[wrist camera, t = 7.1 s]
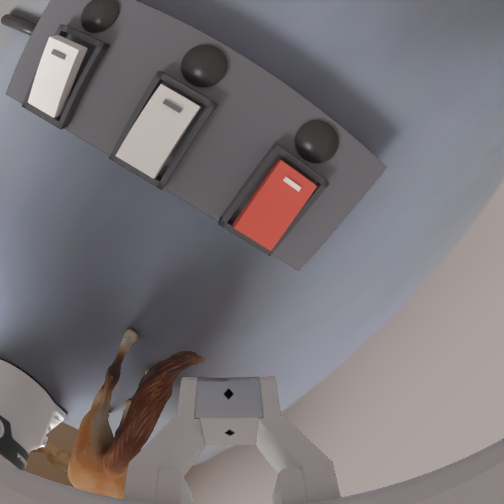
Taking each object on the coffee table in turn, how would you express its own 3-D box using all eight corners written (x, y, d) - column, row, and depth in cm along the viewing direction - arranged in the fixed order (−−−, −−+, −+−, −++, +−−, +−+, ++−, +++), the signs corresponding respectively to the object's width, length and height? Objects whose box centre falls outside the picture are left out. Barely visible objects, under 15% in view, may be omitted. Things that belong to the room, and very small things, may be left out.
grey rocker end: (66, 111, 17) (53, 118, 16) (40, 96, 16) (26, 103, 15) (92, 47, 14) (77, 50, 13) (63, 34, 14) (48, 36, 12)
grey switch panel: (293, 251, 26) (300, 277, 23) (-16, 67, 16) (-43, 70, 13) (371, 157, 22) (392, 170, 19) (34, -29, 12) (9, -38, 9)
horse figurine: (131, 433, 42) (109, 543, 24) (87, 415, 40) (56, 524, 22) (212, 314, 29) (191, 540, 11) (137, 279, 27) (52, 499, 9)
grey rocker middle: (157, 176, 19) (153, 179, 17) (121, 155, 18) (114, 155, 17) (200, 109, 18) (200, 106, 16) (164, 88, 17) (160, 83, 16)
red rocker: (267, 243, 21) (271, 251, 20) (232, 221, 21) (234, 228, 19) (310, 182, 20) (317, 186, 19) (276, 158, 20) (281, 160, 18)
